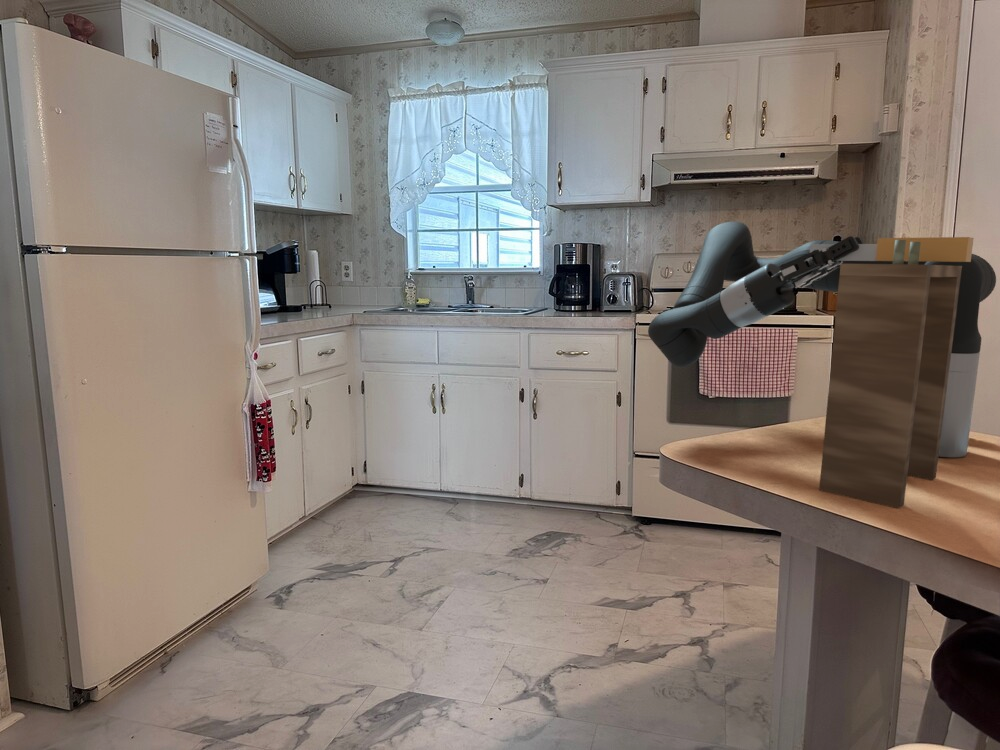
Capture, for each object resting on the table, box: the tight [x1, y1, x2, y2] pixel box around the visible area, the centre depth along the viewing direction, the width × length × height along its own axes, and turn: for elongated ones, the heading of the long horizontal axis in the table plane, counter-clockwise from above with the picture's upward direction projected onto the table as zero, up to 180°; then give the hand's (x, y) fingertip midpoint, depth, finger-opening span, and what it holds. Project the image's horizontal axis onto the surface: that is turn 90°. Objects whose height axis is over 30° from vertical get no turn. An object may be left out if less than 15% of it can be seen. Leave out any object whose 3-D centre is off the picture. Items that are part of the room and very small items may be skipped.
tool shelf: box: [818, 240, 962, 510], centre depth 96 cm, size 19×10×34 cm, turn 136°
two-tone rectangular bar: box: [810, 236, 974, 262], centre depth 100 cm, size 3×20×3 cm, turn 46°
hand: (858, 242), depth 102 cm, fingers closed on two-tone rectangular bar, 2 cm apart
